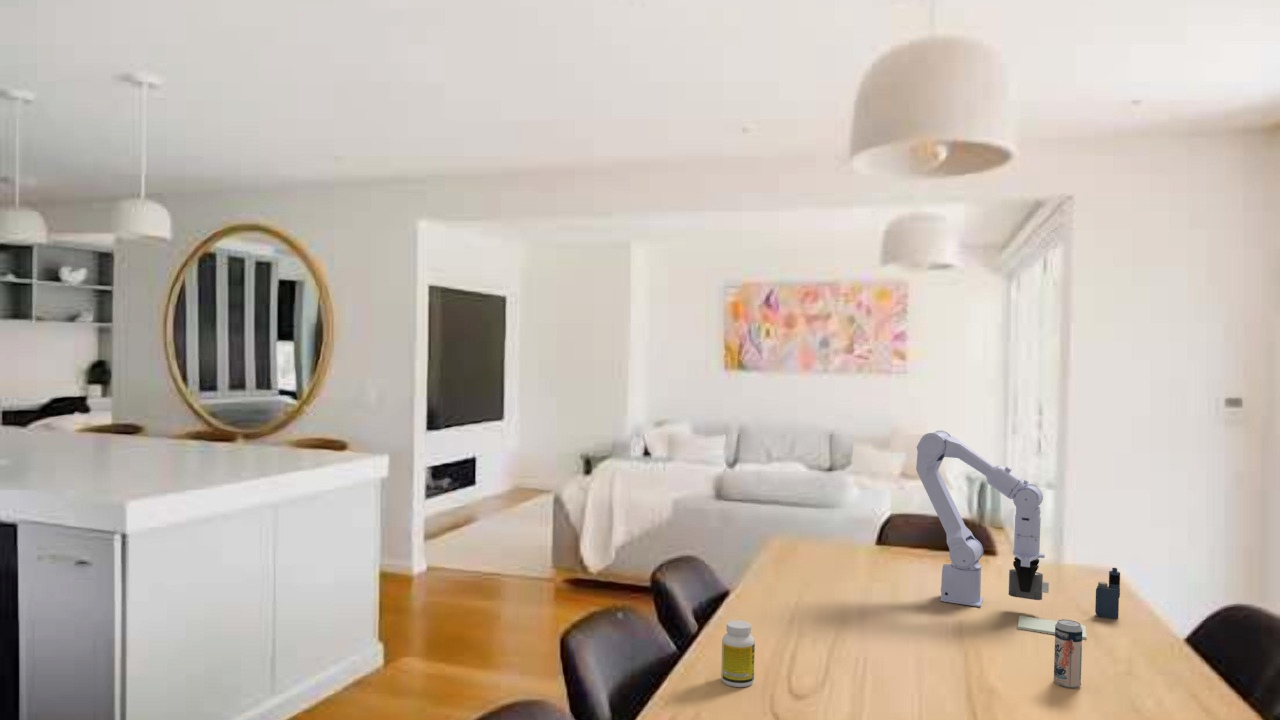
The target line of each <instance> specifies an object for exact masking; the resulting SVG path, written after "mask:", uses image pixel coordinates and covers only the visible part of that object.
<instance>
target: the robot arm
mask: <svg viewBox="0 0 1280 720" xmlns="http://www.w3.org/2000/svg"><path fill="white" fill-rule="evenodd" d="M916 451H917V456H916V457H917V458H916V466H915V470H916V474H917V475H918V477H919V479H920V482H921V483H922V486H923V487H924V490H925V492H926V494H927V496H928V498H929V500H930V502H931V504H932V507H933V508H934V511H935V513H936V515H937V517H938V520H939V521H940V523H941V525H942V527H943V530H944V532H945V534H946V544H947V547H948V549H949V553H948V554H949V559H950V561H951V562H950V563H949V564H948V563H944V564H943V565H942V568H941V569H942V570H941V583H940V584H941V587H940V601H941V602H944V603H949V604H957V605H958V604H959V605H965V606H970V607H971V606H972V607H978V608H981V606H982V603H983V600H984V597H983V596H981V592H982V591H981V590H982V589H981V588H982V585H981V584H982V565H981V563H980V561H979V560H980V559H982V557H983V556H984V548H983V544H982V543H981V542H980V541H979V540H978V539H977V538H975V536H974V534H973V532H972V531H971V529H969V528H968V527H967V526H966V524H965V522H964V520H963V518H962V516H961V514H960V512H959V509H958V507H957V505H956V504H955V501H954V500H953V497H952V496H951V494H950V491H949V489H948V487H947V485H946V483H945V480H944V479H943V477H942V475H941V472H940V471H939V469H940V467H941V464H942V462H943V460H944V458H954V459H959V460H960V461H962V462H964V463H965V464H966V465H969V467H971V468H973V469H975V470H976V471H978V472H979V473H981V474H982V475H984V476H985V478H986V482H987V484H988V485H989V486H991V487H992V488H994V489H995V490H996V491H997V492H999V493H1001V494H1002V495H1004V496H1005V497H1006V498H1007V499H1009V500H1012V501H1013V504H1014V506H1015V515H1014V516H1015V517H1014V537H1013V550H1012V555H1014V560H1013V562H1012V566H1013V568H1014V569H1015V570H1016V572H1017V575H1018V581H1019V587H1020V591H1022V592H1029V593H1030V590H1031V586H1032V581H1033V577H1034V575H1035V573H1036V572H1037V571H1038V570H1039V563H1040V558H1041V559H1045V557H1046V556H1045V553H1041V551H1040V546H1041V545H1040V544H1041V542H1040V541H1041V519H1042V518H1041V504H1042V502H1043V499H1044V496H1043V495H1044V494H1043V492H1042V491H1041V489H1040V488H1038V486H1037V485H1036V484H1032V483H1029V480H1027V479H1023V478H1021V477H1019V476H1018V475H1016V473H1014V472H1012V470H1013V469H1012V468H1011V467H1009V466H1004V465H994V464H992V463H991V462H989V461H988V460H987V459H986V458H984V457H983V456H982V455H980V454H979V453H978V452H976V450H973V449H972V448H971V447H970V446H968V445H967V444H966V443H964V442H963V441H961V440H960V439H959V438H957V437H956V436H954V435H951V434H950V433H949V432H947V431H944V430H936V431H934V432H928V433H925V434H923V436H921V438H920V439H919V441H918V443H917V445H916Z"/></svg>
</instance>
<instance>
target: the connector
mask: <svg viewBox="0 0 1280 720" xmlns="http://www.w3.org/2000/svg"><path fill="white" fill-rule="evenodd" d="M1043 577H1044V574H1043V573H1041V572H1037V571H1036V573H1035V575H1034V577H1033V581H1032V586H1031V590H1030V593H1029V592H1022V591H1020V587H1019V581H1018V575H1017V572H1016V570H1015V568H1014V569H1013V568H1011V569H1009V573H1008V595H1009V596H1010V597H1013V598H1019V599H1025V600H1035V601H1042V600H1043V593H1044V594H1049V588H1050V587H1049V586H1050V584H1049V583H1050V582H1049V581H1044V580H1043V579H1044V578H1043Z"/></svg>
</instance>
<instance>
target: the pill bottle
mask: <svg viewBox="0 0 1280 720" xmlns="http://www.w3.org/2000/svg"><path fill="white" fill-rule="evenodd" d="M725 630H726V633H725V634H724V635H723V636H722V638H721V639H722V640H721V672H720V674H721V681H722V683H724V684H725V685H726V686H729V687H733V688H745V687H746V688H748V687H750V686H751V685H753V684H754V682H755V681H754V680H755V653H756V651H755V649H756V648H755V645H756V644H755V643H756V642H755V641H756V640H755V638H754V637H753V636H752V634H751V633H752V624H751V623H750V622H747V621H745V620H739V619H738V620H729V621H728V622H727V623H726V628H725Z"/></svg>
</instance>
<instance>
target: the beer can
mask: <svg viewBox="0 0 1280 720" xmlns="http://www.w3.org/2000/svg"><path fill="white" fill-rule="evenodd" d="M1057 621H1058V622H1057V623H1056V625H1055V635H1054V660H1053V661H1054V663H1053V682H1055V683H1056V684H1057V683H1058V684H1059V686H1061V687H1063V688H1066V689H1076V688H1079V687H1081V686H1082V658H1083V656H1082V654H1083V653H1082V652H1083V639H1082V631H1083V629H1082V627H1081V625H1082V624H1081V623H1080V622H1078V621H1075V620H1071V619H1064V618H1063V619H1062V618H1061V619H1058V620H1057ZM1058 684H1057V685H1058Z"/></svg>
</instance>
